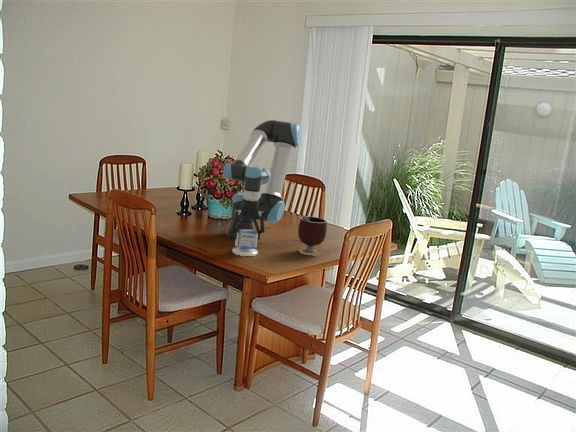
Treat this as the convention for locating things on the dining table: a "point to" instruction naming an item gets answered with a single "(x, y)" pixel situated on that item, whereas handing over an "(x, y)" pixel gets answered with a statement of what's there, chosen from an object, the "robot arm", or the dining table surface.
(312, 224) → the mate gourd
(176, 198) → the dining table surface
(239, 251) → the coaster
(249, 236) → the medicine box
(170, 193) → the dining table surface
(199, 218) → the dining table surface
